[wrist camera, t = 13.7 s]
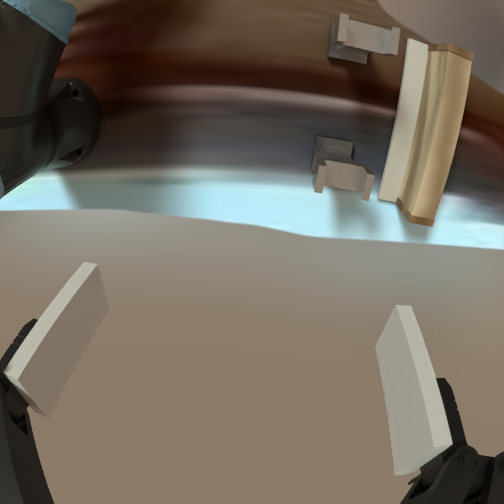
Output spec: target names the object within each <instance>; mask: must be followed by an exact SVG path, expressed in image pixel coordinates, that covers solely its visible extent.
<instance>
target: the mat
mask: <svg viewBox="0 0 504 504" xmlns="http://www.w3.org/2000/svg"><path fill="white" fill-rule="evenodd" d="M427 57H428V45H426V44H424V43H421V42H418V41H415V40H412V39H407V47H406V55H405V63H404V70H403V77H402V83H401V89H400V95H399V101H398V106H397V112H396V117H395V122H394V127H393V132H392V137H391V142H390V146H389V151H388V155H387V160H386V164H385V168H384V172H383V176H382V180H381V184H380V188H379V192H378V196H377V198H378V199H382V200H387V201H393V202H396V200H397V197H398V196H399V192H400V189H401V185H402V181H403V178H404V174H405V170H406V166H407V162H408V158H409V154H410V150H411V145H412V141H413V137H414V132H415V127H416V123H417V118H418V113H419V107H420V102H421V97H422V91H423V85H424V78H425V72H426V65H427Z"/></svg>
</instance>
